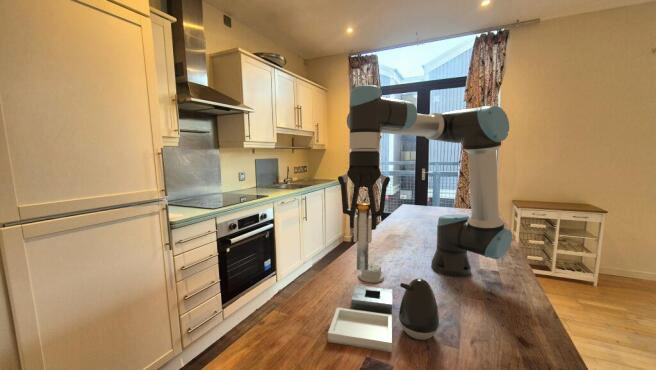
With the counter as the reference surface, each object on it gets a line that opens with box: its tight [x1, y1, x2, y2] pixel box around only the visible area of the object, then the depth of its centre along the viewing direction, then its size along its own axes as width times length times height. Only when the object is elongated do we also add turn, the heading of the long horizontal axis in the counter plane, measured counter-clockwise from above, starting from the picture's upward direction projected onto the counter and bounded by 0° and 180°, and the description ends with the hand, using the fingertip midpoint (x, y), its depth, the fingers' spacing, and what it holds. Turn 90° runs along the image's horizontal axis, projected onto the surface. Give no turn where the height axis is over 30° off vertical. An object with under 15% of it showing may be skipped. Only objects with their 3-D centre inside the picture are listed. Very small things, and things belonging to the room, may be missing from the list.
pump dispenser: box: [398, 278, 440, 341], centre depth 73 cm, size 10×10×15 cm
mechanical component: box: [358, 262, 385, 284], centre depth 107 cm, size 10×4×10 cm
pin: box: [356, 202, 371, 272], centre depth 71 cm, size 4×4×17 cm
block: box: [350, 285, 393, 316], centre depth 85 cm, size 12×9×4 cm
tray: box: [327, 306, 393, 353], centre depth 74 cm, size 16×12×2 cm
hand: (362, 240), depth 71 cm, fingers closed on pin, 3 cm apart
